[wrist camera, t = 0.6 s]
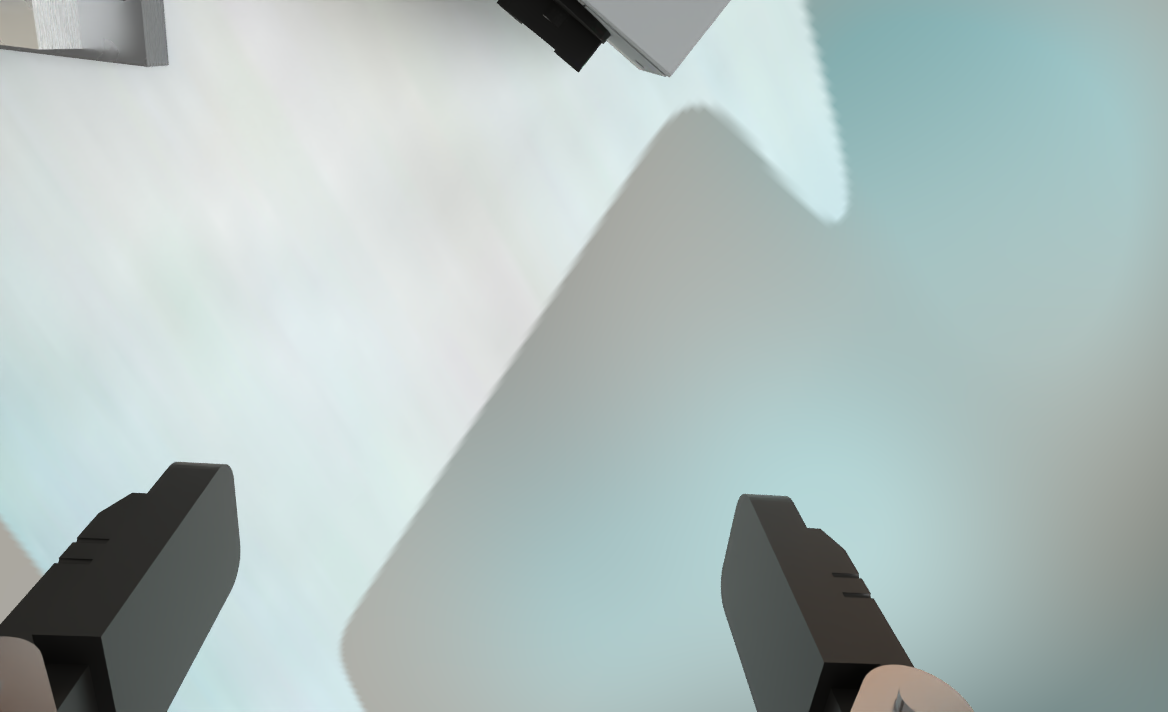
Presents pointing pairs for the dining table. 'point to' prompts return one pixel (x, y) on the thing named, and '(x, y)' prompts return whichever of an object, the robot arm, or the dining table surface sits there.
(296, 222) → the dining table surface
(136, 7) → the breaker panel
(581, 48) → the circuit breaker
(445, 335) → the dining table surface
